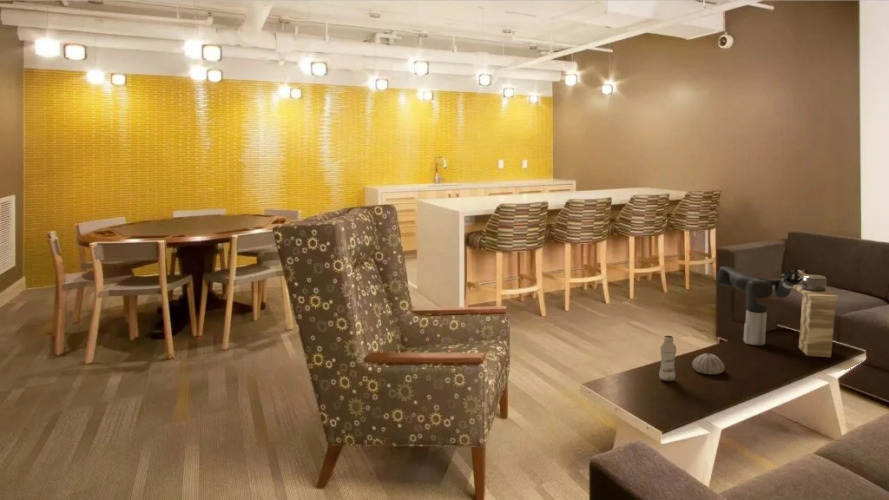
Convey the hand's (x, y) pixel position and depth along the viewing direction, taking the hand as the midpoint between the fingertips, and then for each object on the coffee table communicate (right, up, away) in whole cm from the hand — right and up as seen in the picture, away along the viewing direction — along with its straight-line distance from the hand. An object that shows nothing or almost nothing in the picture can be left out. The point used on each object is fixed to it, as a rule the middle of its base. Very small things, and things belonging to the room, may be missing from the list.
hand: (801, 270), depth 286 cm
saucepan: (-2, -7, -7) cm, 11 cm away
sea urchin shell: (-67, -45, -37) cm, 89 cm away
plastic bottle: (-90, -47, -46) cm, 111 cm away
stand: (-5, -39, -14) cm, 42 cm away
